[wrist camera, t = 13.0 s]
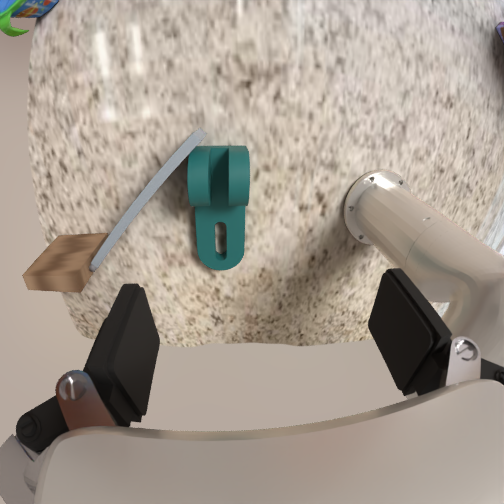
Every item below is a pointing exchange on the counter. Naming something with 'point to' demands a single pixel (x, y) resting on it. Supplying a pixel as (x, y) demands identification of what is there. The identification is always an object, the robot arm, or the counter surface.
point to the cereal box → (500, 30)
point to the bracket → (219, 200)
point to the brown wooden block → (65, 263)
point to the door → (147, 195)
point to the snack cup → (21, 12)
